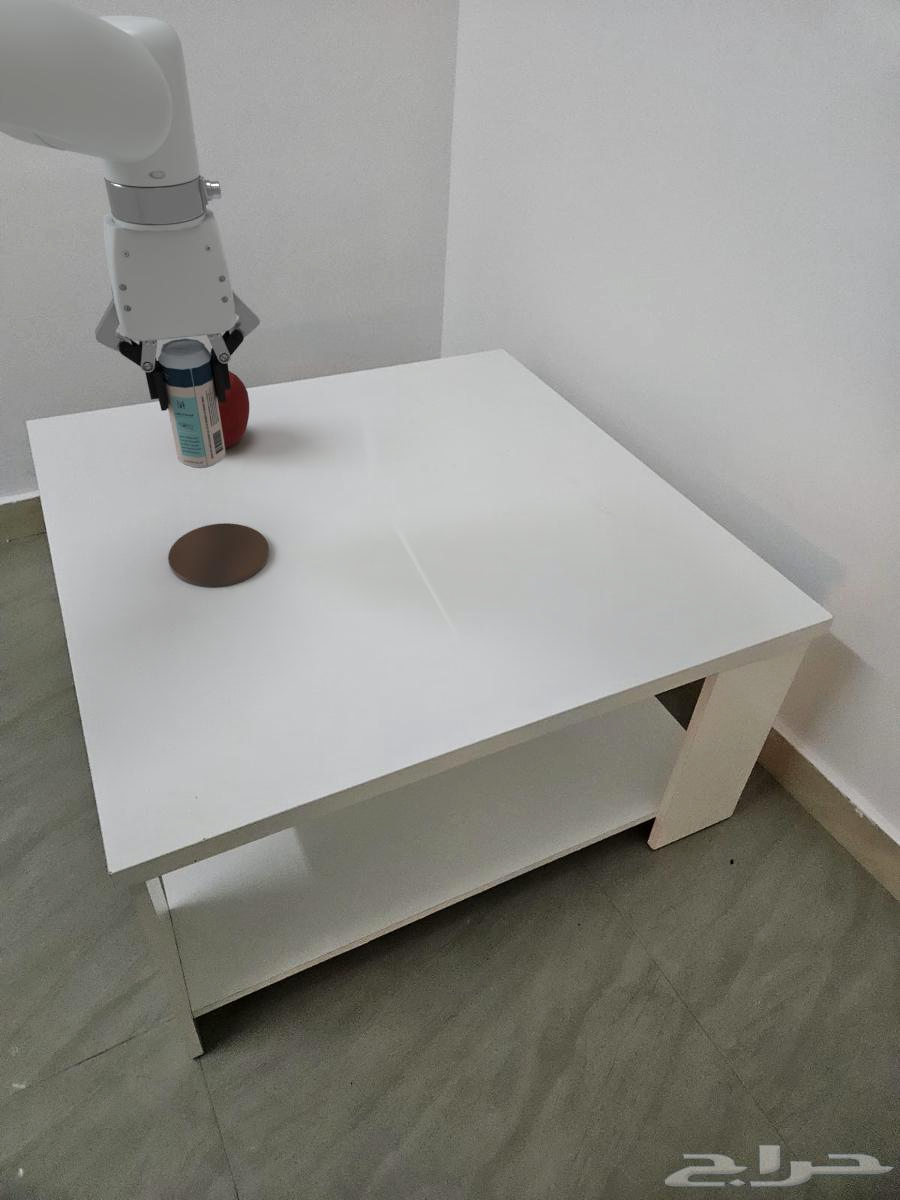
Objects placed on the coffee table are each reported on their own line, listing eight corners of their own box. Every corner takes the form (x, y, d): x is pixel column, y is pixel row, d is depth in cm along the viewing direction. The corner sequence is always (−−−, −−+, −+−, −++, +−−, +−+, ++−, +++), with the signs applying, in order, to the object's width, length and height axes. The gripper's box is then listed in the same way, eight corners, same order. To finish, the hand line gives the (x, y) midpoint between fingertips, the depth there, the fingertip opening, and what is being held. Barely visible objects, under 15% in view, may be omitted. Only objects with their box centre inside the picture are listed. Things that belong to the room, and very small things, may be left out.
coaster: (176, 596, 87) (175, 591, 86) (163, 537, 94) (162, 532, 94) (278, 575, 90) (278, 571, 90) (258, 520, 98) (258, 516, 97)
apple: (179, 462, 107) (165, 392, 100) (185, 426, 114) (173, 358, 107) (253, 459, 108) (244, 389, 101) (255, 423, 115) (246, 356, 108)
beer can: (220, 443, 86) (203, 333, 78) (231, 465, 83) (214, 353, 75) (174, 452, 85) (151, 340, 77) (183, 475, 81) (161, 361, 74)
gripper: (251, 182, 73) (270, 373, 85) (45, 192, 68) (97, 394, 80) (268, 206, 68) (287, 406, 80) (47, 220, 62) (102, 431, 74)
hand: (192, 398), depth 79 cm, fingers closed on beer can, 4 cm apart
